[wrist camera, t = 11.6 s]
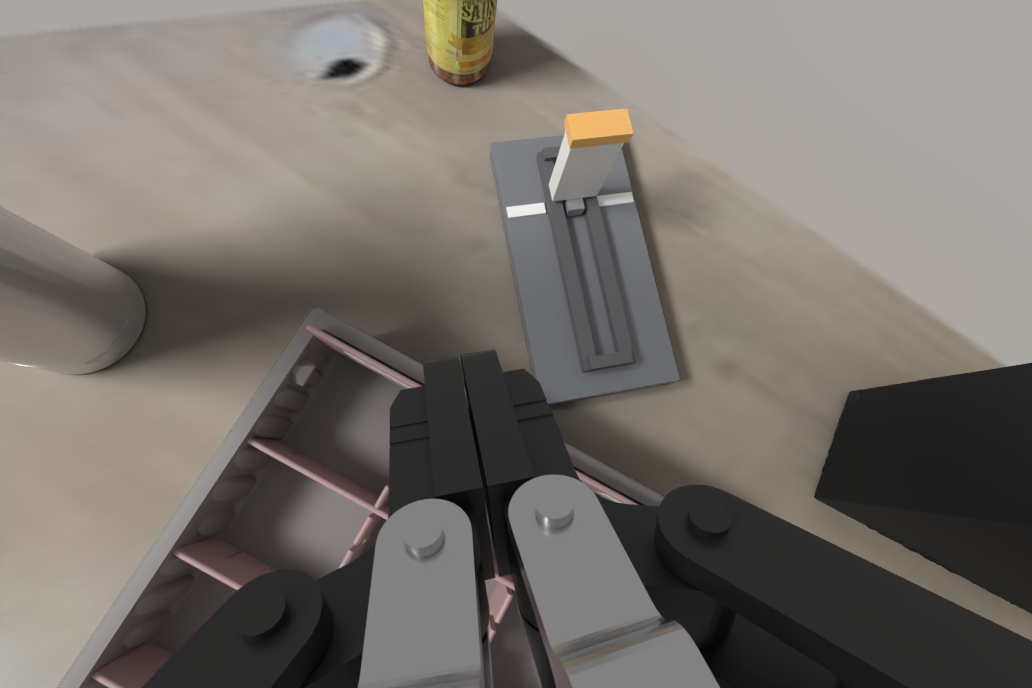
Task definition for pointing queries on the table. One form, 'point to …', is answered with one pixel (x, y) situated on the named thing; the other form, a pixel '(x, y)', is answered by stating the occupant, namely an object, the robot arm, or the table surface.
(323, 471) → the organizer tray
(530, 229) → the grey slider track base
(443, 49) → the sauce bottle
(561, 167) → the fader tab
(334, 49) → the table surface
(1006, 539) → the black drawer cabinet
